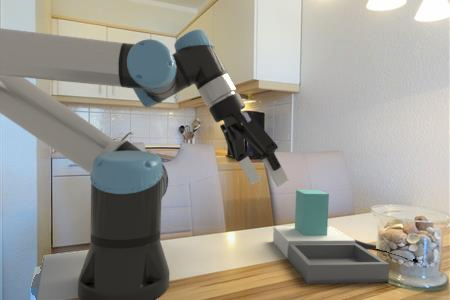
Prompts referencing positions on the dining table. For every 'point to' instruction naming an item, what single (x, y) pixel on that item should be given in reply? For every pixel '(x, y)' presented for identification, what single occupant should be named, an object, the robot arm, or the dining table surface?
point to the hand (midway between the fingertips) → (268, 182)
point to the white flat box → (306, 237)
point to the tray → (337, 263)
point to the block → (311, 212)
